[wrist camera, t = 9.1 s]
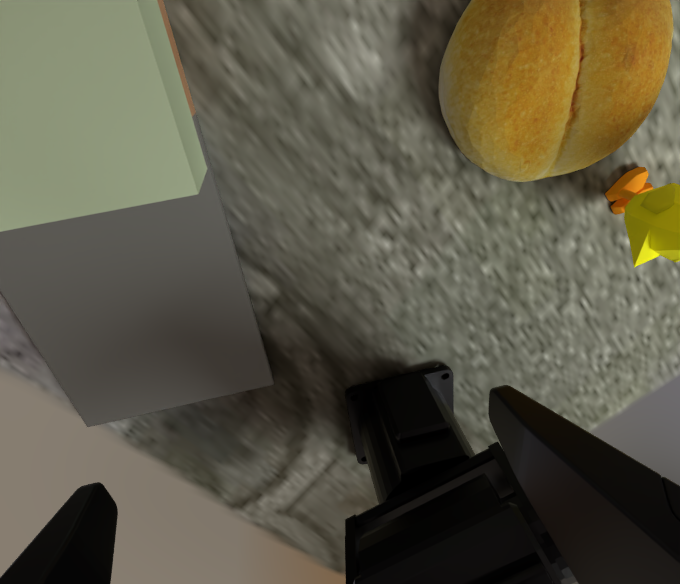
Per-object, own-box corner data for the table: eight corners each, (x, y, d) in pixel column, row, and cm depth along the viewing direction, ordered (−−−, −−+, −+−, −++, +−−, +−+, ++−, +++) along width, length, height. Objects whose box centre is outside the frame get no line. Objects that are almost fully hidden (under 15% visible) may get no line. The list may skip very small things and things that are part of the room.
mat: (273, 378, 24) (273, 384, 24) (90, 420, 23) (87, 427, 23) (195, 112, 17) (194, 114, 16) (-74, 159, 16) (-83, 162, 16)
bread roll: (434, -32, 16) (483, -53, 13) (649, -47, 17) (747, -69, 14) (427, 185, 20) (463, 213, 17) (601, 162, 21) (667, 185, 18)
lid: (207, 168, 15) (198, 194, 13) (15, 204, 15) (-36, 238, 12) (79, -261, 10) (20, -365, 7) (-225, -231, 9) (-401, -332, 7)
